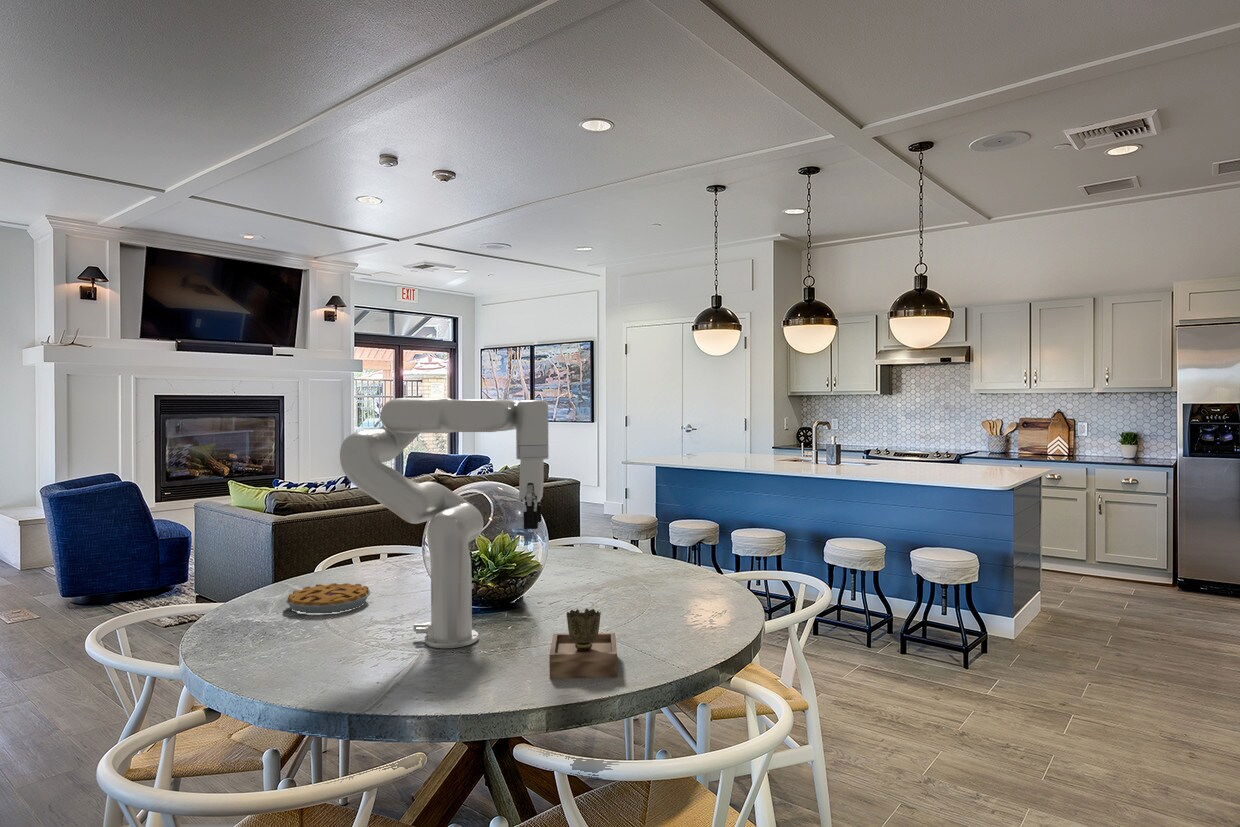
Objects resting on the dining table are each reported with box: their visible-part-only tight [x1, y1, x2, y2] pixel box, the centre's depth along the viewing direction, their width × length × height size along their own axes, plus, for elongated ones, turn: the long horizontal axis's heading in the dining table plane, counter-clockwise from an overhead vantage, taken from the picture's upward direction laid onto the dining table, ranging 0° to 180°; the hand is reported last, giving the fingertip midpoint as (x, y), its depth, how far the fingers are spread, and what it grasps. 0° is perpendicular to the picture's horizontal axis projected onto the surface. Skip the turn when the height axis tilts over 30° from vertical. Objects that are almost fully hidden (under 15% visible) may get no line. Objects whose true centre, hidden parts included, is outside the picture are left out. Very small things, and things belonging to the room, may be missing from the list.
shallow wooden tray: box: [548, 632, 618, 680], centre depth 159 cm, size 14×14×6 cm
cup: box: [566, 608, 601, 651], centre depth 160 cm, size 8×7×8 cm
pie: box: [285, 582, 371, 613], centre depth 208 cm, size 22×22×5 cm
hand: (532, 525), depth 173 cm, fingers open, 9 cm apart
